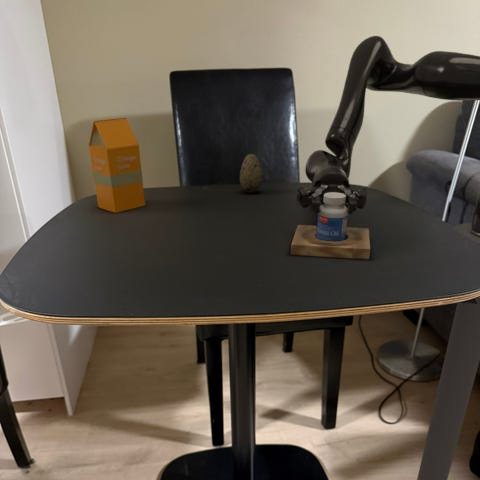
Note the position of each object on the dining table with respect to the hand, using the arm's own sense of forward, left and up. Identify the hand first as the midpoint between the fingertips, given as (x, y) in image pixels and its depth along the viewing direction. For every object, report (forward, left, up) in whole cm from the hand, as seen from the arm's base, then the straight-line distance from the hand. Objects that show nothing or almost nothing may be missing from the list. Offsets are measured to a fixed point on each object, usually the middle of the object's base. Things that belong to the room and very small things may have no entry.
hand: (334, 208), depth 86 cm
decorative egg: (+23, -41, -8) cm, 48 cm away
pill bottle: (0, -3, -8) cm, 9 cm away
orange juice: (+52, -22, -8) cm, 57 cm away
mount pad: (0, -2, -8) cm, 8 cm away
